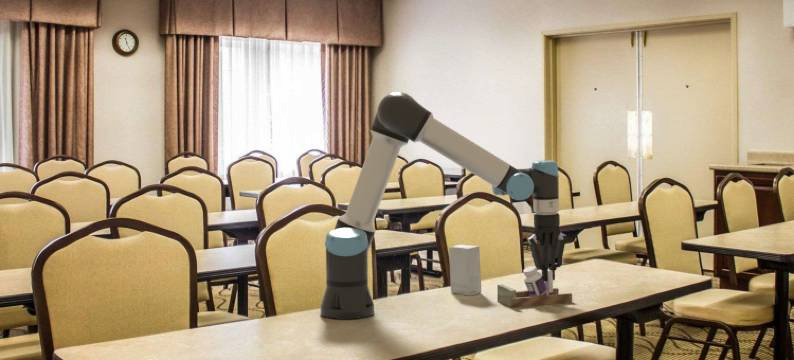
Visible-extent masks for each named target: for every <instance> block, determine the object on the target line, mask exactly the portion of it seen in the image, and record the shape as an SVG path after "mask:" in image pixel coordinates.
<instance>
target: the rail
mask: <svg viewBox="0 0 794 360" xmlns="http://www.w3.org/2000/svg"><path fill="white" fill-rule="evenodd" d="M559 291H560V290H559V288H557V287H555V288H554V287H553V292H551V293H549V292H548V294H549V295H542V296H531V297H530V295H529V292H528V289H527V290H519V291H518V290H516V289H514V288H511V287H510V286H507V285H504V284H497V302H498V303H500V304H502V305H505V306H507V307H509V308H520V307H521V308H522V307H534V306H544V305H554V304H566V303H573V293H572V292H568V293H567V292H566V293H560V292H559Z"/></svg>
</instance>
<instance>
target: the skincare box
mask: <svg viewBox="0 0 794 360" xmlns="http://www.w3.org/2000/svg"><path fill="white" fill-rule="evenodd" d="M480 251H481V250H480V245H469V244H468V245H467V244H457V245H453V246H448V252H449V253H448V255H449V259H448V260H449V274H450V275H449V277H450V280H449V282H450V293H451V294H458V295H462V296H463V295H464V296H474V295H479V294H482V272H481V254H480Z"/></svg>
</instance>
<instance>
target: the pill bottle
mask: <svg viewBox="0 0 794 360" xmlns="http://www.w3.org/2000/svg"><path fill="white" fill-rule="evenodd" d="M523 274H524V278H523V281H524V284H525V287H526V289H527V290H528V292H529V295H530V297H531V296H542V295H549V294H548V291H547V288H546V286H545V283H544V280H543V277H542V272H541V273H540V272H538V268H536V266H535V265H529V266H527V267H525V268H524V269H523Z"/></svg>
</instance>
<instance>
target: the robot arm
mask: <svg viewBox="0 0 794 360" xmlns="http://www.w3.org/2000/svg"><path fill="white" fill-rule="evenodd" d="M369 131H370V133H371V137H372V140H371V142H370V145H369V148H368V150H367V153H366V155H365V159H364V162H363V165H362V167H361V170H360V173H359V175H358V178H357V181H356V183H355V187H354V190H353V193H352V194H351V197H350V199H349V200H350V201H349V203H348V206H347V209H346V211H345V213H344V214H342V215H341V216H338V218H337V221H336V224H335V226H334V229H332V230H330V231H328V232H327V233H326V235H325V241H324V246H325V272H326V274H325V276H326V277H325V278H326V286H325V291H324V292H323V293H324V294H323V297H322V301H321V304H320V315H321V314H322V315H323V316H322V315H321V316H322V317H324V316H326V317H325V318H328V317H330V318H329V319H334V318H337V319H336V320H355V319H354V318H357V319H362V317H364V318H368V317H370V315H371V316H373V315H374V314H375V303H374V301H373V297H372V295H371V292H370V289H369V284H368V283H369V281H368V280H369V279H368V278H369V276H368V274H369V273H368V271H369V270H368V269H369V268H368V267H369V265H368V264H369V263H368V260H369V259H368V254H369V250H370V247H371V245H372V242H373V239H374V236H375V234H376V228H375V227H374V221H375V219H376V215H377V213H378V210H379V207H380V205H381V202H382V200H383V196H384V195H385V192H386V189H387V186H388V183H389V180H390V178H391V175H392V172H393V169H394V167H395V164H396V162H397V161H396V160H397V159H398V156H399V153H400V150H401V148H403V147H404V146H406V145H408V143H409V141H410V142H413V143H417V142H420V143H422V144H423V145H425V146H426V147H428V148H430V149H432V150H433V151H434V152H436V153H439V154H440V155H441V156H443V157H445V158H446V159H448V160H450V161H451V162H453V163H455V164H456V165H458V166H460V167H461V168H463V169H465V170H466V171H468V172H470V173H471V174H472V175H475V176H476V177H478V178H479V179H481V180H483V181H484V182H486V183H488V184H489V185H491V189H492V194H493V195H495V196H503V197H505V196H508V197H510V198H512V200H515V201H524V200H526V199H528V198H530V196H533V197H532V200H533V201H532V202H533V208H532V209H533V212H534V214H533V227H534V230H533V234H532V235H531V236H529V237H527V238H526V242H527V243H528V245H529V248H530V251H531V256H532V259H533V262H534V266H536V268H537V270H541V275H542V277H543V280H544V283H545V286H546V288H547V291H548V292H549V293H551V292H553V288H554V281H555V280H556V272H555V271H557V269H558V268H561V266H562V262H563V256H564V251H565V250H564V249H565V244H566V242H567V240H568V238H569V237H568V236H569V235H568V234H564V233H563V232H562V231H561V228H560V225H561V223H560V214H559V212H560V194H559V190H560V189H559V178H560V176H559V167H558V162H556V160H555V161H554V160H535V161H533V162H532V165H531V167H529V168H516V167H514V166H512V165H511V164H509V163H508V162H506V161H504V160H503V159H501V158H500V157H498V156H497V155H495V154H494V153H491V152H490V151H488V150H487V149H486V148H484V147H482V146H480V145H479V144H477V143H475V142H473V141H472V140H470V139H469V138H467V137H465V136H464V135H462V134H460V133H459V132H457V131H455V130H454V129H452V128H450V127H449V126H447V125H446V124H444V123H443V122H441V121H440V120H437V119H436V118H434V114H433V112H432V111H429V110H428V109H427V108H425V106H423V105H422V104H420V103H418V102H417V100H415V98H413V97H412V96H411V95H409V94H408V93H405V92H401V91H396V92H391V93H389V94H386V95H384V97H383V98H382V99H381V100H380V102H379V104H378V106H377V110H376V113H375V117H374V119H373V121H372V125H371V128H370V129H369ZM537 242H538V243H537ZM538 245H539V247H538ZM367 316H368V317H367Z"/></svg>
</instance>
